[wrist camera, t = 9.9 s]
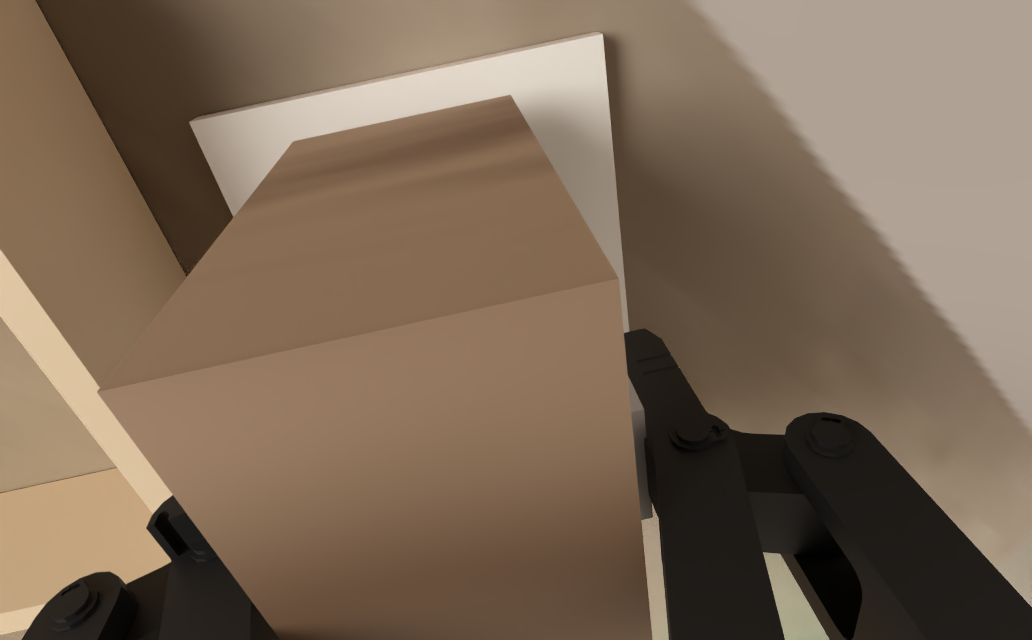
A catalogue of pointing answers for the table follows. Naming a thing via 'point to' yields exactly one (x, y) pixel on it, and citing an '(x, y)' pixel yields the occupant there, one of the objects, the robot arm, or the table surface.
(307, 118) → the plate
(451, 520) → the walnut block
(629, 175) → the table surface
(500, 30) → the table surface
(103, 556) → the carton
